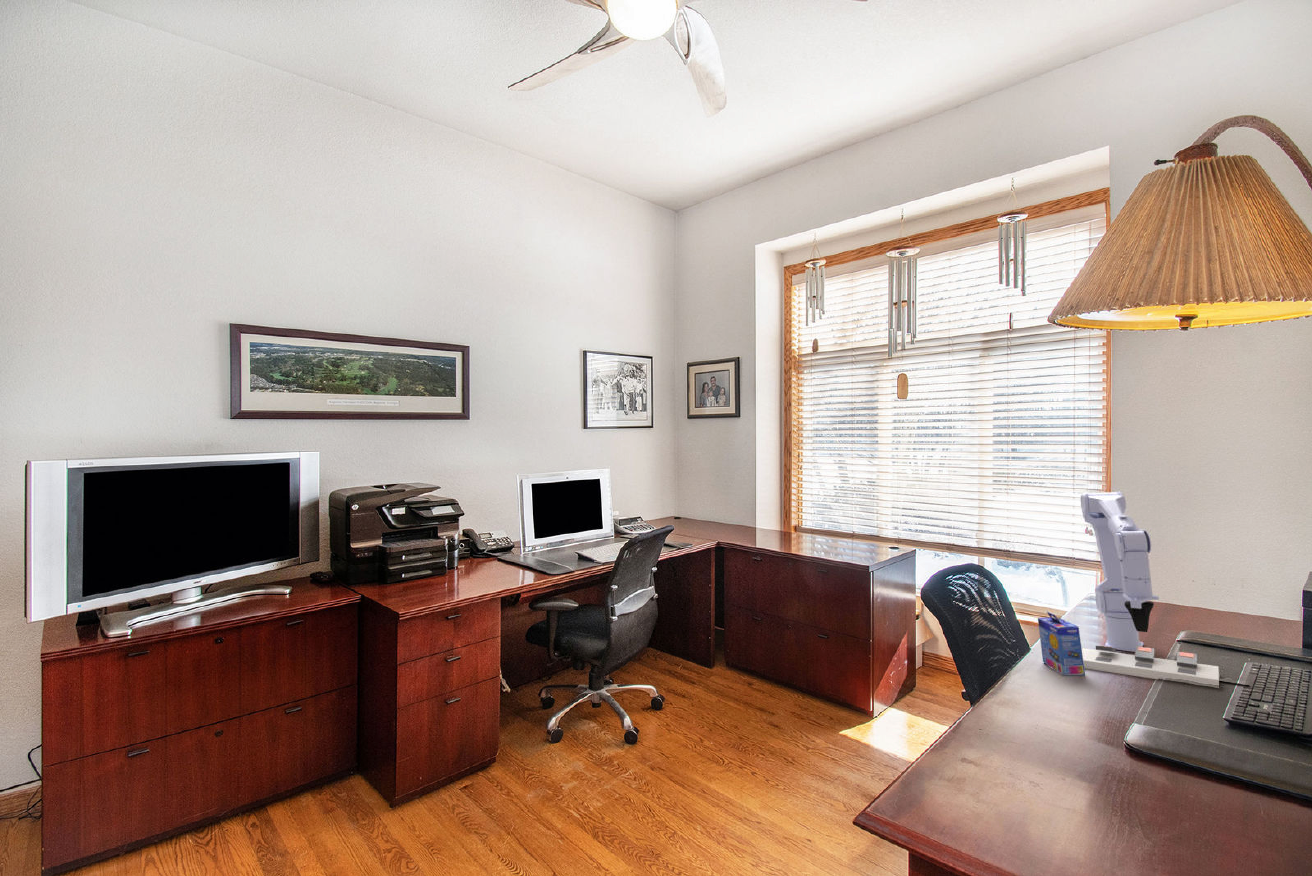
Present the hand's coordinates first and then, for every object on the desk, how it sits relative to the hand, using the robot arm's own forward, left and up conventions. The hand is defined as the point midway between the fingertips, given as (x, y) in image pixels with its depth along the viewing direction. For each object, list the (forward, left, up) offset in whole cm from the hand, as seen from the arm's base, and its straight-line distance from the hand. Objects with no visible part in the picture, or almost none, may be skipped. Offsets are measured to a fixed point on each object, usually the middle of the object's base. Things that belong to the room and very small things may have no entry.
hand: (1142, 631), depth 149 cm
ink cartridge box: (+11, -16, -10) cm, 22 cm away
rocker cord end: (0, +8, -6) cm, 10 cm away
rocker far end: (0, -8, -6) cm, 10 cm away
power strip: (+2, +3, -9) cm, 10 cm away
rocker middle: (0, 0, -6) cm, 6 cm away
